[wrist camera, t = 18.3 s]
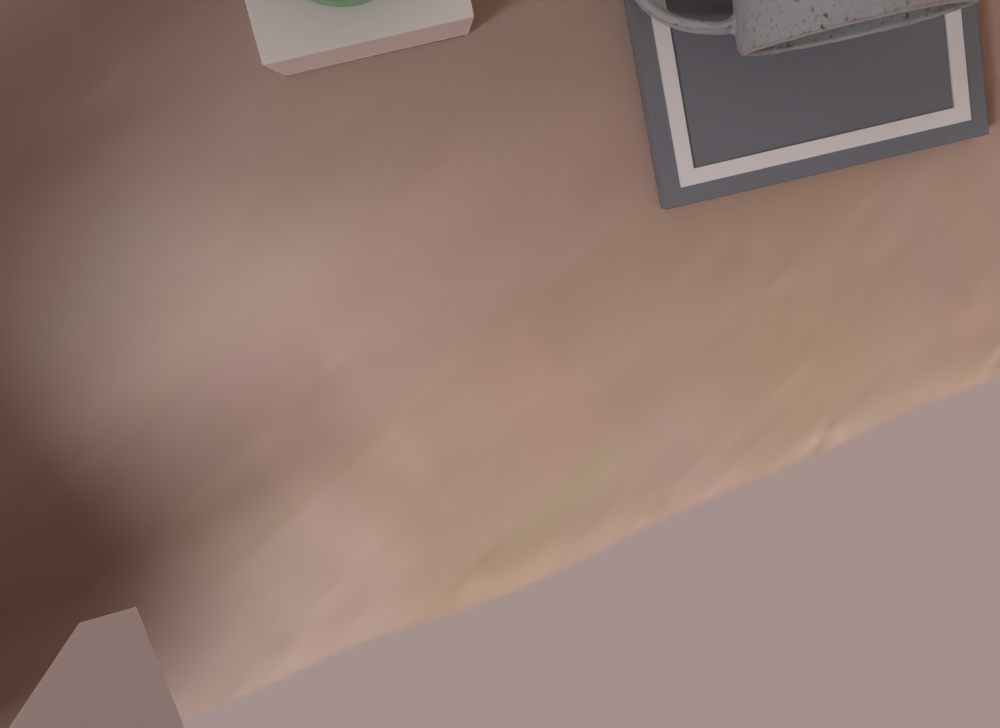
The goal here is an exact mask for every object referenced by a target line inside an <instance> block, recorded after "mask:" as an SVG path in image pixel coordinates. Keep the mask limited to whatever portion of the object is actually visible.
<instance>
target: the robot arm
mask: <svg viewBox="0 0 1000 728" xmlns="http://www.w3.org/2000/svg"><path fill="white" fill-rule="evenodd" d="M9 728H184V727H183V724H182V721H181V719H180V716H179V714H178V711H177V709H176V706H175V704H174V701H173V699H172V696H171V693H170V691H169V688H168V686H167V683H166V681H165V678H164V676H163V673H162V671H161V668H160V666H159V663H158V660H157V658H156V655H155V653H154V650H153V648H152V645H151V643H150V640H149V638H148V635H147V633H146V630H145V627H144V625H143V622H142V620H141V617H140V615H139V612H138V610H137V607H133V608H129V609H126V610H122V611H119V612H115V613H112V614H108V615H105V616H101V617H98V618H94V619H91V620H87V621H83V622H80V623H79V624H78V625H77V627H76V628H75V630H74V631H73V633H72V634H71V636H70V637H69V639H68V640H67V642H66V643H65V645H64V646H63V648H62V649H61V651H60V652H59V654H58V655H57V657H56V658H55V660H54V661H53V663H52V664H51V666H50V667H49V669H48V670H47V672H46V673H45V675H44V676H43V678H42V679H41V680H40V682H39V683H38V685H37V686H36V688H35V689H34V691H33V692H32V694H31V695H30V697H29V698H28V700H27V701H26V703H25V704H24V706H23V707H22V709H21V710H20V712H19V713H18V715H17V716H16V718H15V719H14V721H13V722H12V724H11V725H10V727H9Z"/></svg>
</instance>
